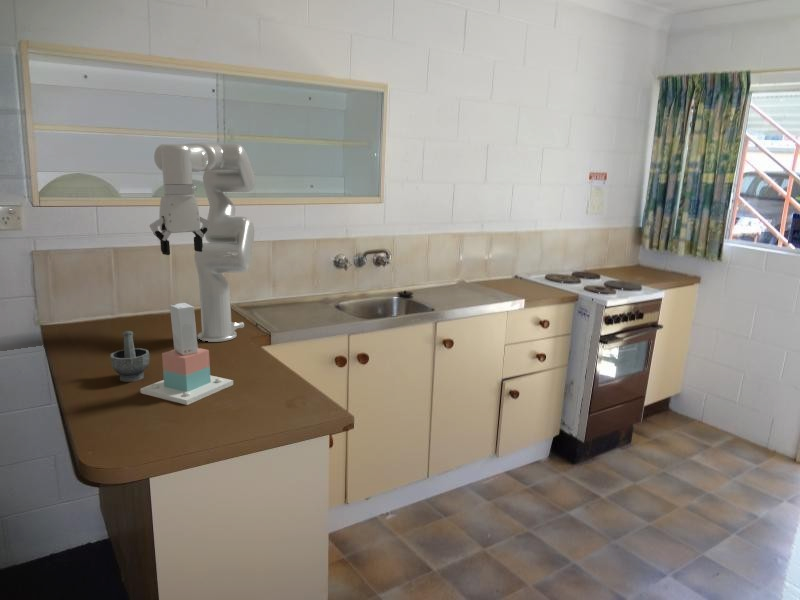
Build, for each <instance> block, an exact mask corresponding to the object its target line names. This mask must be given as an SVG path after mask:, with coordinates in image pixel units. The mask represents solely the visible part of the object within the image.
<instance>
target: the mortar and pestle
mask: <svg viewBox="0 0 800 600" xmlns="http://www.w3.org/2000/svg"><path fill="white" fill-rule="evenodd" d="M122 337H123V349H120V350H116V351H114V352H112V353H110V363H111V367H112V368H113V370H114V371H115V373H117V374H118V375H119V381H121V382H125V383H127V382H129V383H131V382H136V381H141V380H143V379H144V378H145V374H144V371H146V370H147V369H148V366H149V364H150V352H149V349H146V348H141V347H140V348H139V347H137V348H135V345H134V344H135V343H134V338H133V337H134V332H133V331H131V330H126V331H124V332H122Z"/></svg>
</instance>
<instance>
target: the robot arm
mask: <svg viewBox="0 0 800 600" xmlns="http://www.w3.org/2000/svg"><path fill="white" fill-rule="evenodd" d="M153 157H154V163H155V165H156V167H157V168H158V169H159V170H160V171H162V180H163V181H162V183H163V193H164V194H163V195H161V196H160V203H159V211H158V212H159V215H158V216H159V218H158V219H156V220H155V221H153V222H152V223H150V224H149V228H150V230H151V231H152V232H153V235H154V236H155V237H156V238H157V239H158V240H159V242H160V243H159V244H160V251H161V253H162V255H164V256H170V255H171V250H170V249H171V247H170V245H171V244H170V240H168V238H169V237H170V235H171V234H180V233H191V232H192V233H193V235H194V237H193V249H194V255H193V256H194V257H193V258H194V263H195V267H196V271H197V276H198V278H197V279H198V288H199V303H200V306H199V307H200V320H201V331H200V332H199V333H198V334H196V336H197V340H199V339H200V340H202V341H201V342H205V341H208V342H207V343H220V342H221V343H222V342H227V341H230V340H233V339H235V338H236V337H237V335H238V333H237V332H236V331H237V329H243V328H245V323H244V322H243V321H240V322H235V321H234V322H233V321H232V311H231V293H230V291H231V290H230V288H231V287H230V283H229V280H227V278H226V277H225V275H224V273H235V274H237V273H239V274H240V273H245V272H247V271H248V269H249V267H250V264H251V258H252V253H253V246H254V239H255V226H254V223H253V221H252V220H251V219H250V218H249V217H246V216H236V215H235V214H236V206H235V204H234V203H233V202H232V200H231V199H230V198H229V196H227V195H226V194H225V193H249V192H252V190H253V189H254V188H255V184H256V180H255V179H256V178H255V173H254V170H253V168H252V164H251V160H250V158H249V156H248V154H247V151H246V150H245V148H244V147H243V146H242V145H241V144H239V143H231V142H230V143H229V142H228V143H225V142H223V143H222V142H194V143H193V142H192V143H190V142H189V143H181V144H177V143H175V144H173V143H172V144H171V143H170V144H169V143H167V144H159V145H158V146H157V147H156V148H155V150H154V154H153ZM199 172H203V174H202V180H203V181H202V182H203V183H202V184H203V186H204V187H203V188H204V191H205V194H206V198H207V202H208V204H209V205H208V206H209V208H208V214H207V218H206V219H205V218H204V217H202V216H201V215H200V210H199V205H198V201H197V197H196V196H195V195H194V193H195V192H197V191H198V188H197V186H194V184H193V173H199ZM201 224H202V225H201ZM159 230H160V231H159ZM204 237H205V240H206V241H207V243H204V242H203V238H204ZM200 340H199V341H200Z"/></svg>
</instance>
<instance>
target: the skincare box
mask: <svg viewBox="0 0 800 600" xmlns="http://www.w3.org/2000/svg"><path fill="white" fill-rule="evenodd" d="M169 311H170V319H171V330H172V339H173V348H174V349H173V350H175V351H177V352H179V353H180V354H182V355H189V354H194V353H198V348H199V347H198V346H199V345H198V338H197V327H196V326H197V325H196V316H195V306H192V305H190V304H188V303H186V302H180V303H174V304H170V305H169Z"/></svg>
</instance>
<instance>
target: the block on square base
mask: <svg viewBox="0 0 800 600" xmlns="http://www.w3.org/2000/svg"><path fill="white" fill-rule="evenodd" d="M161 358H162V373H163V380H160V381H157V382H154V383H152V384H149V385H147V386H144V387H143V386H142V388H139V389H140V394H143V395H147V396H151V397H154V398H157V399H162V400H165V401H170V402H173V403H178V404H182V405H186V406H188V405H190V404H192V403H195V402H197V401H199V400H202V399H203V398H206V397H209V396H211V395H213V394H215V393H218V392H220V391H222V390H225V389H226V388H229V387H232V386H233V385H234V380H233V379H230V378H229V379H228V378H224V377H219V376H216V375H215V376H214V375H211V366H210V364H211V363H210V350H209V349H206V348H201V347H200V348H199V347H198V353H194V354H189V355H182V354H180V353H179V352H177V351H175V350H174V349H172V350H169V351H165V352H162V353H161Z"/></svg>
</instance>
